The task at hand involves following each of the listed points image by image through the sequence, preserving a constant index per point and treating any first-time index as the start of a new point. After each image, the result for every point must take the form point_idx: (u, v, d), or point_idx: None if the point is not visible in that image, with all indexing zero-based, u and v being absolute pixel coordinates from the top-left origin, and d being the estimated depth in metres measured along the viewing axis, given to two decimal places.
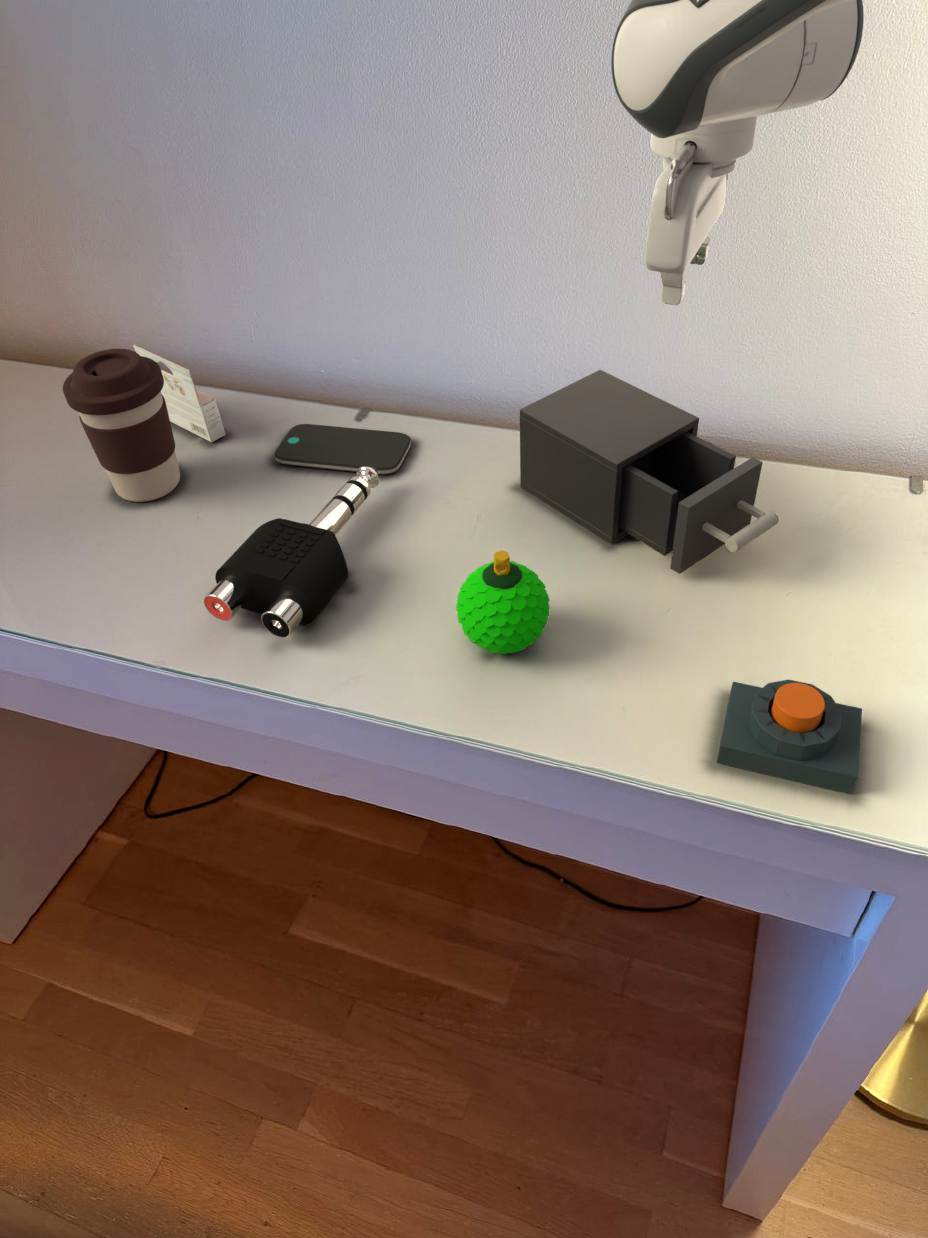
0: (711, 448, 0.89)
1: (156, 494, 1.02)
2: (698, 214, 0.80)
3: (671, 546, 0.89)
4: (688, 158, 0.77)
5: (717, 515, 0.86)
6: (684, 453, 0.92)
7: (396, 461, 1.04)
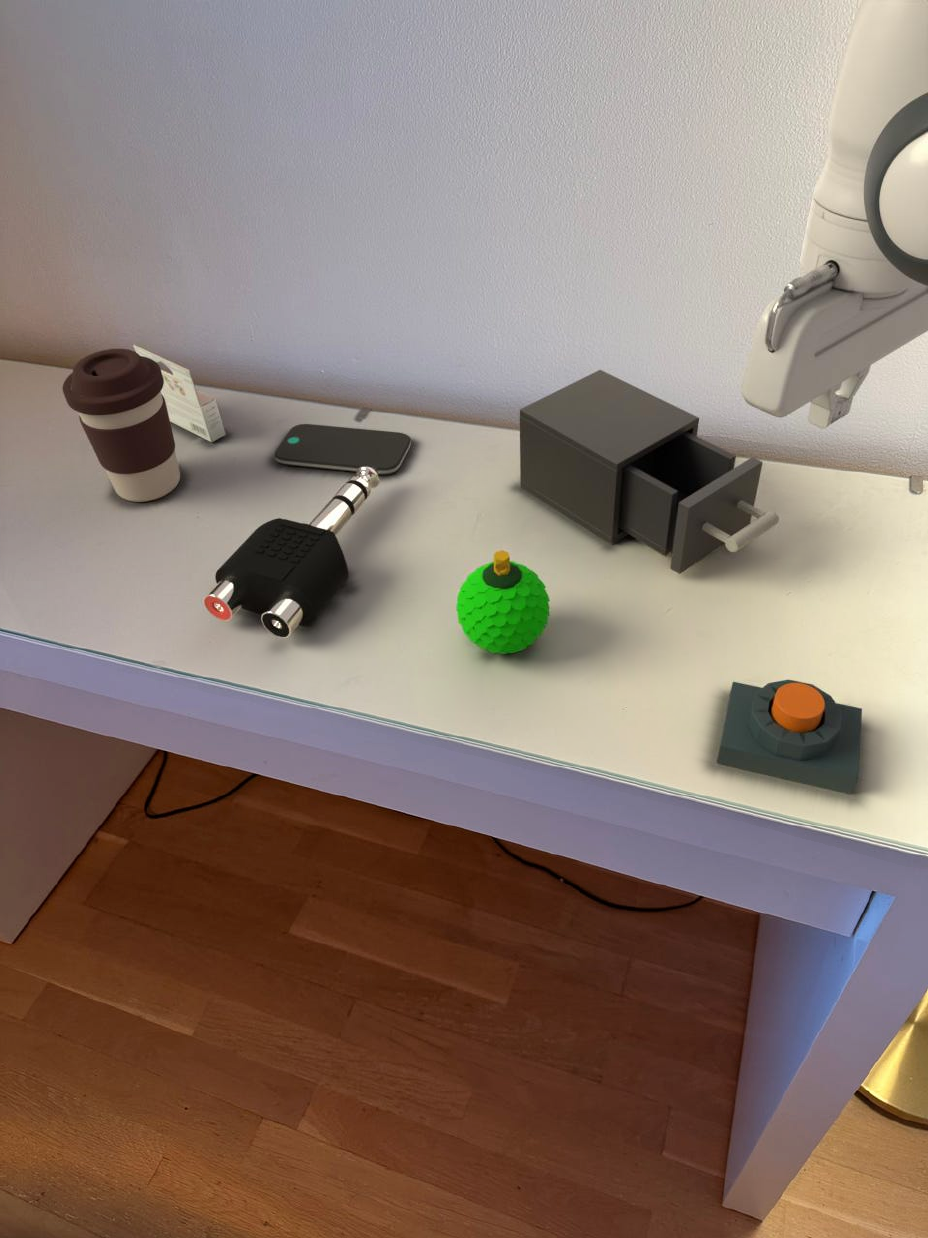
0: (711, 448, 0.89)
1: (156, 494, 1.02)
2: (824, 351, 0.63)
3: (671, 546, 0.89)
4: (816, 283, 0.60)
5: (717, 515, 0.86)
6: (684, 453, 0.92)
7: (396, 461, 1.04)
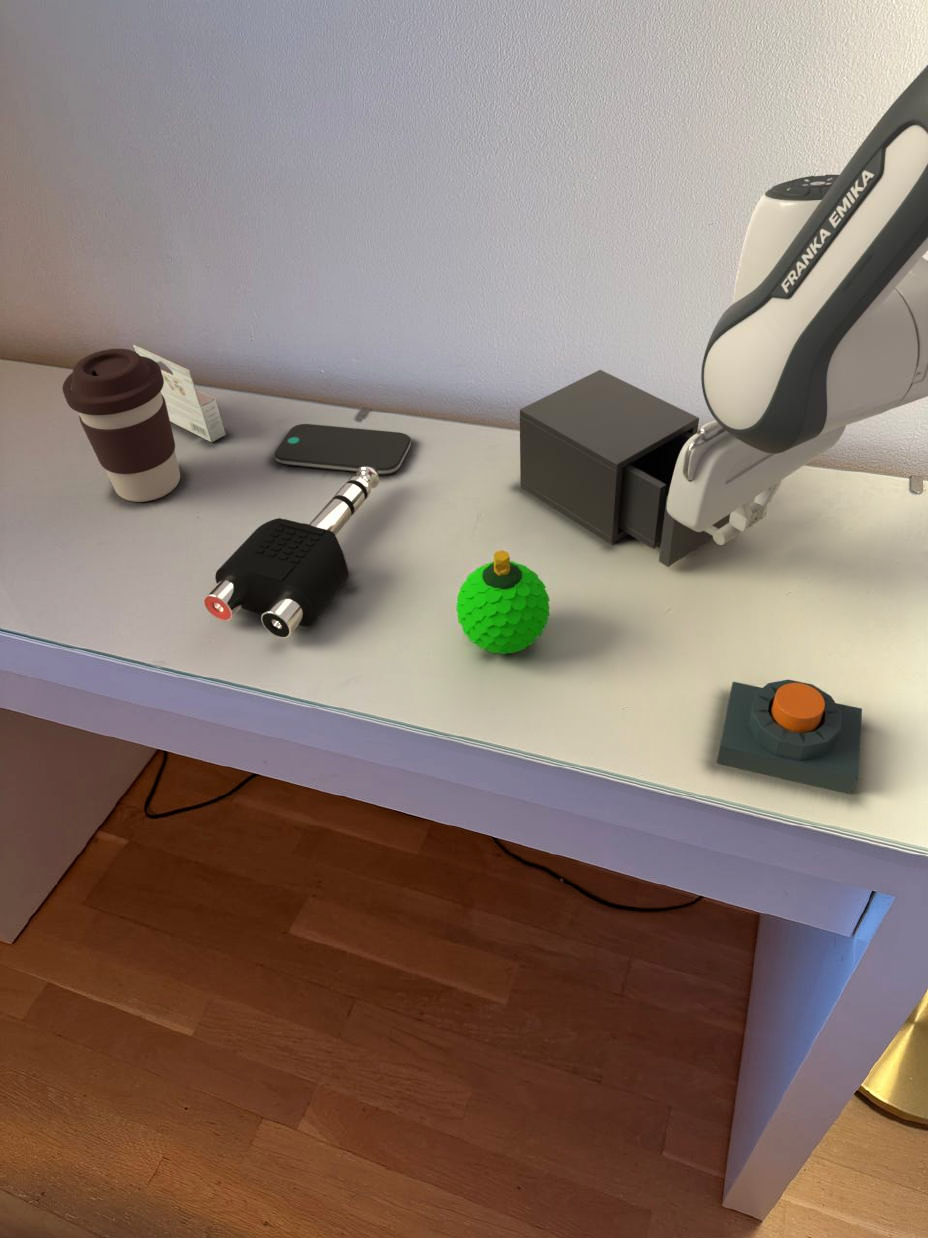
0: None
1: (156, 494, 1.02)
2: (734, 478, 0.75)
3: (660, 539, 0.90)
4: None
5: None
6: (673, 447, 0.93)
7: (396, 461, 1.04)
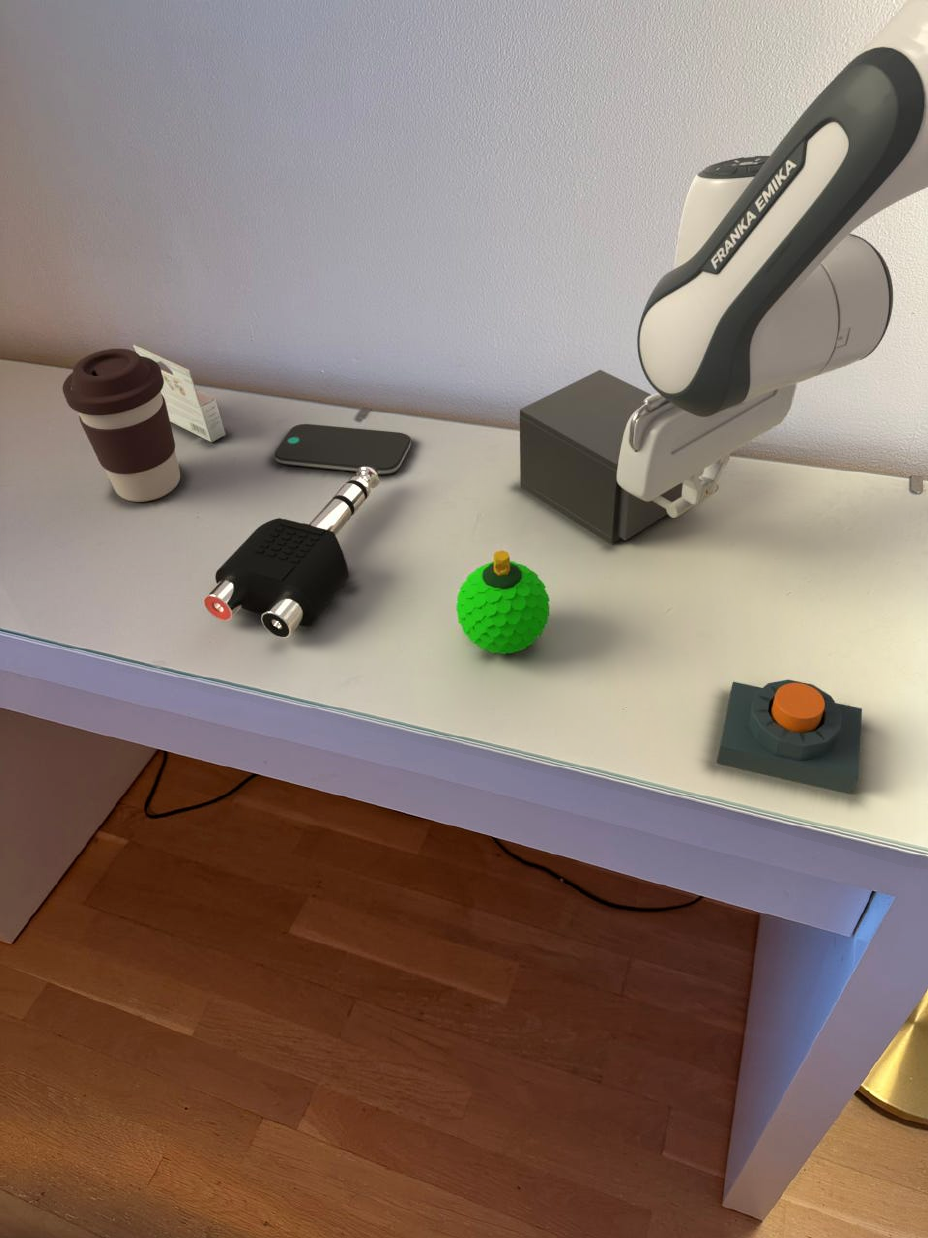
0: None
1: (156, 494, 1.02)
2: (680, 449, 0.79)
3: None
4: (667, 398, 0.76)
5: None
6: None
7: (396, 461, 1.04)
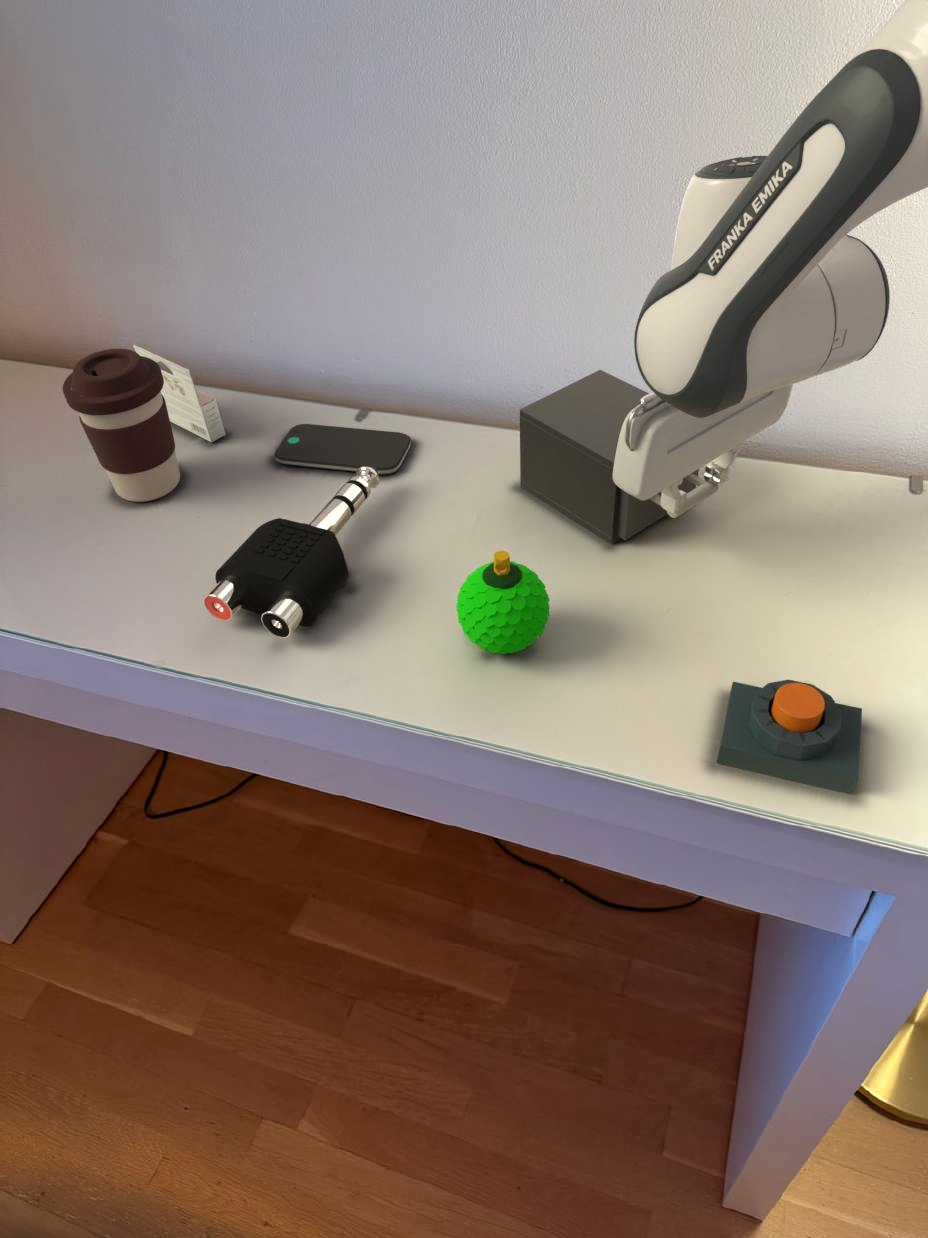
0: None
1: (156, 494, 1.02)
2: (676, 448, 0.79)
3: None
4: None
5: None
6: None
7: (396, 461, 1.04)
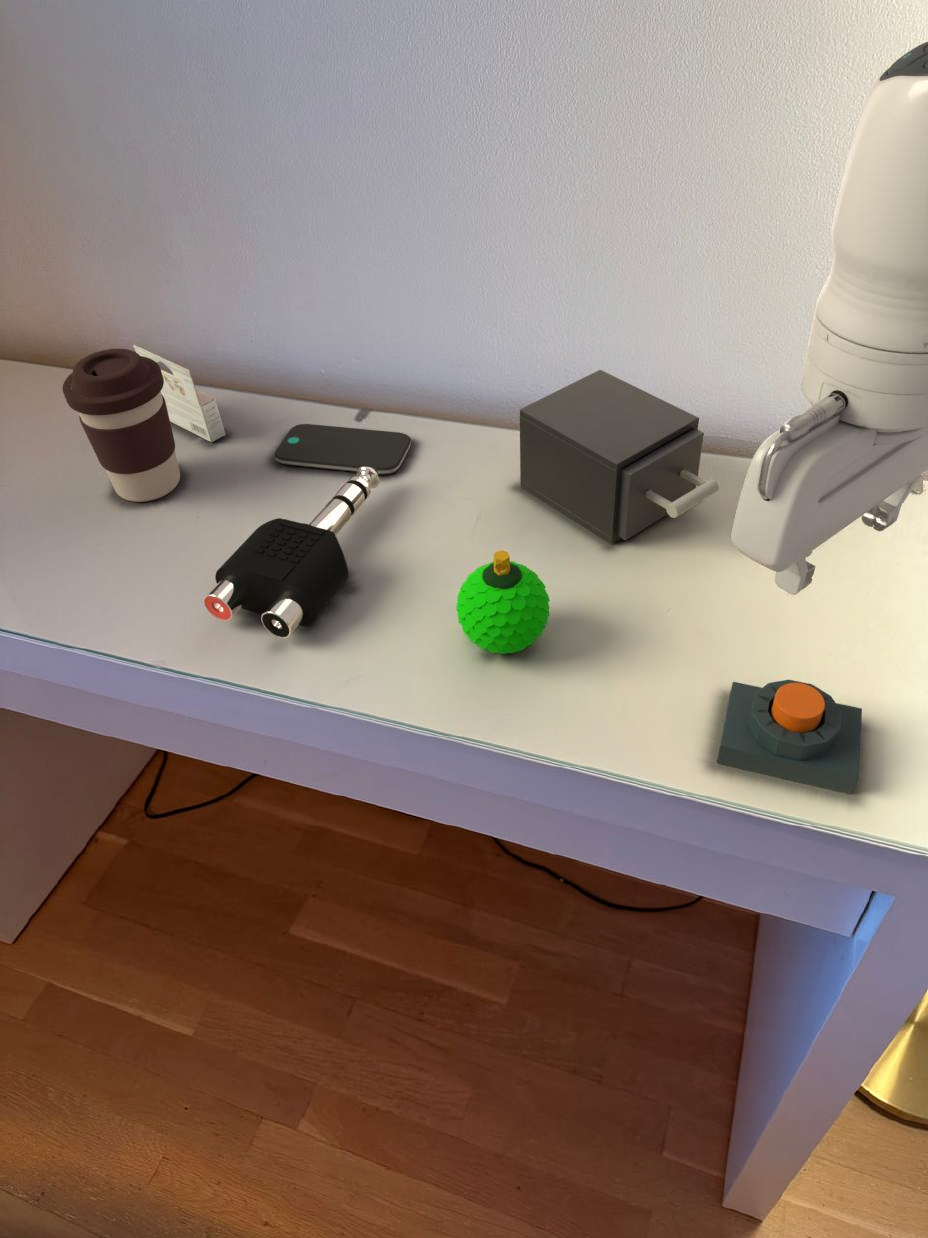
0: None
1: (156, 494, 1.02)
2: (830, 495, 0.53)
3: None
4: (819, 421, 0.50)
5: (660, 483, 0.90)
6: None
7: (396, 461, 1.04)
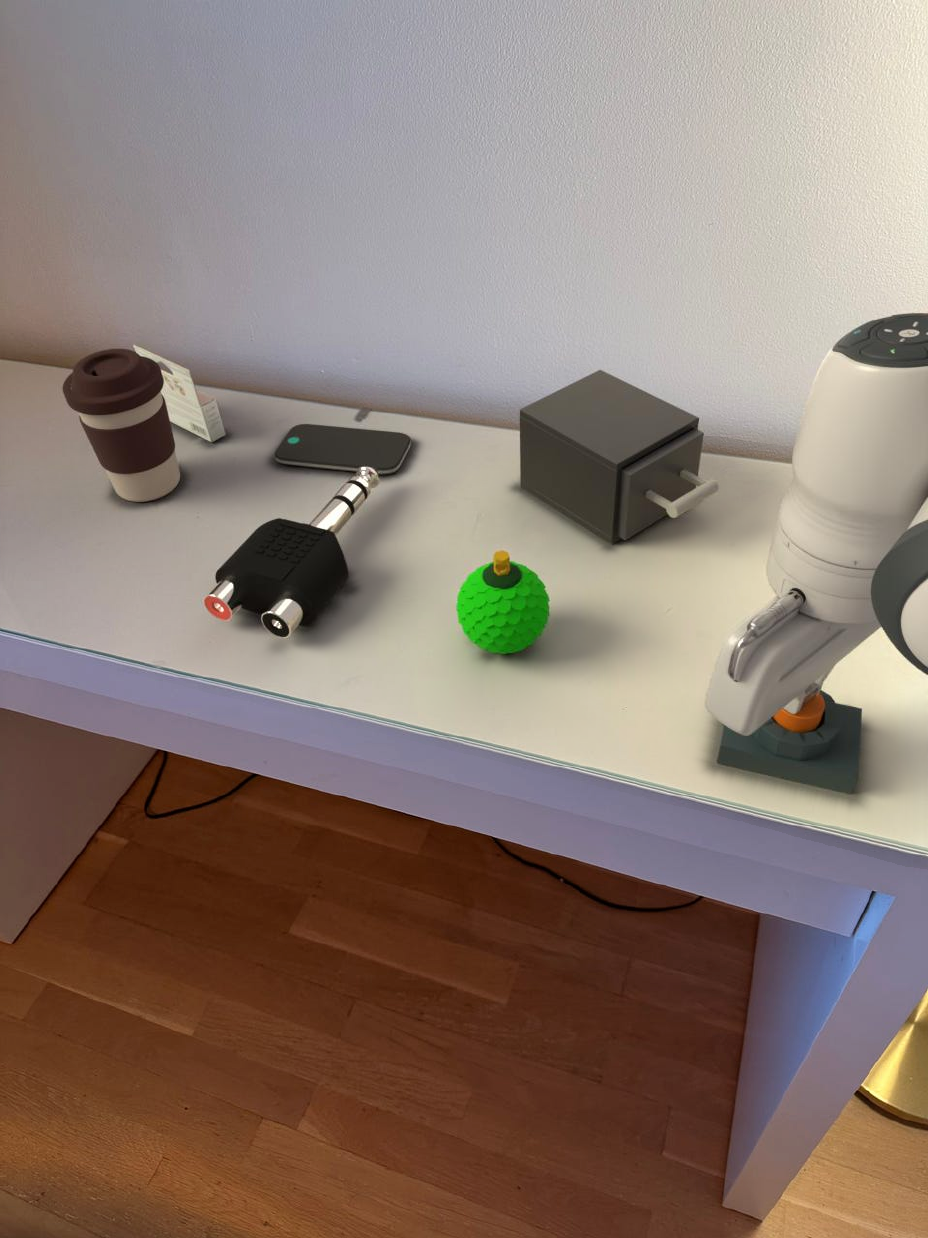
0: None
1: (156, 494, 1.02)
2: (790, 673, 0.61)
3: None
4: (780, 618, 0.58)
5: (660, 483, 0.90)
6: None
7: (396, 461, 1.04)
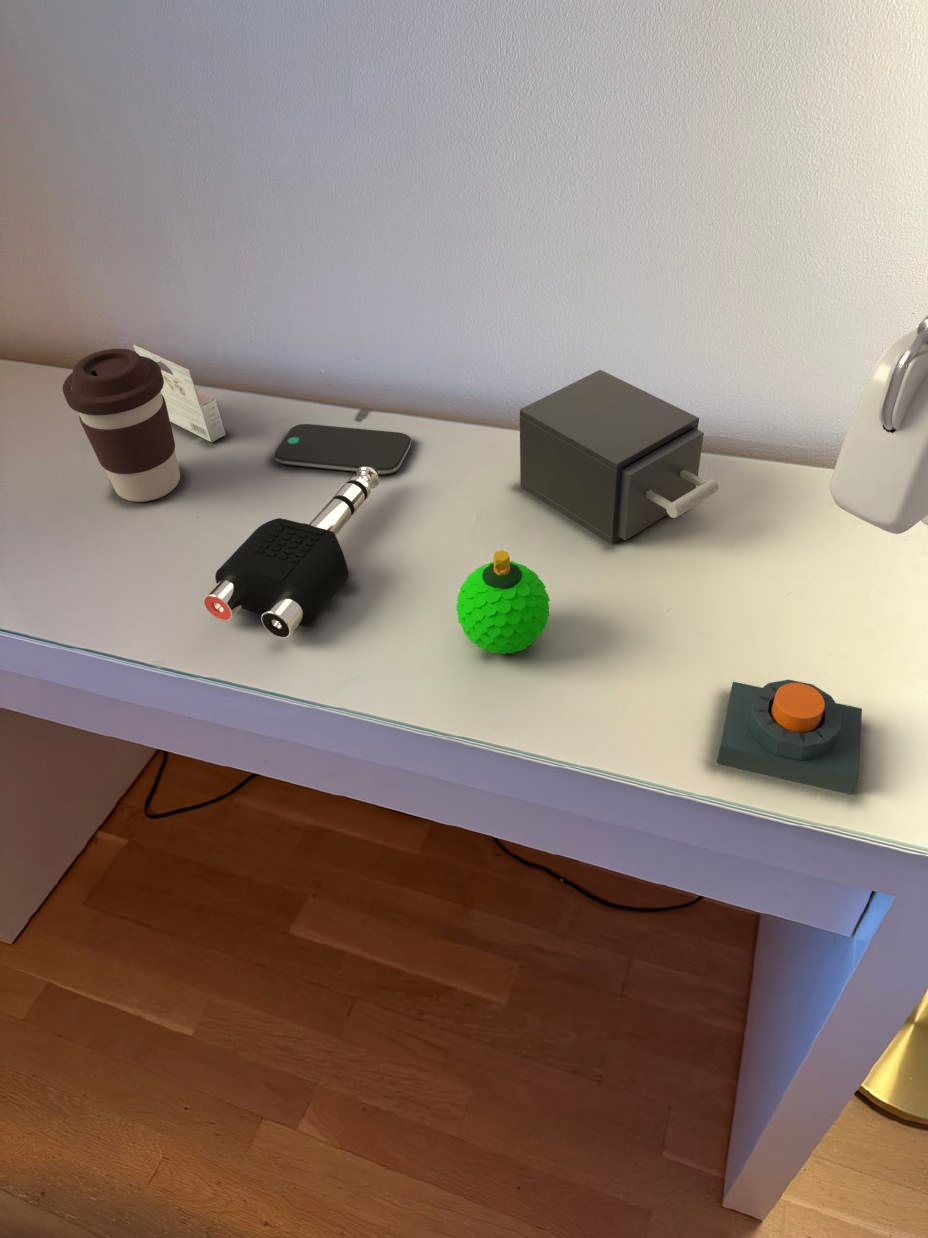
0: None
1: (156, 494, 1.02)
2: None
3: None
4: None
5: (660, 483, 0.90)
6: None
7: (396, 461, 1.04)
